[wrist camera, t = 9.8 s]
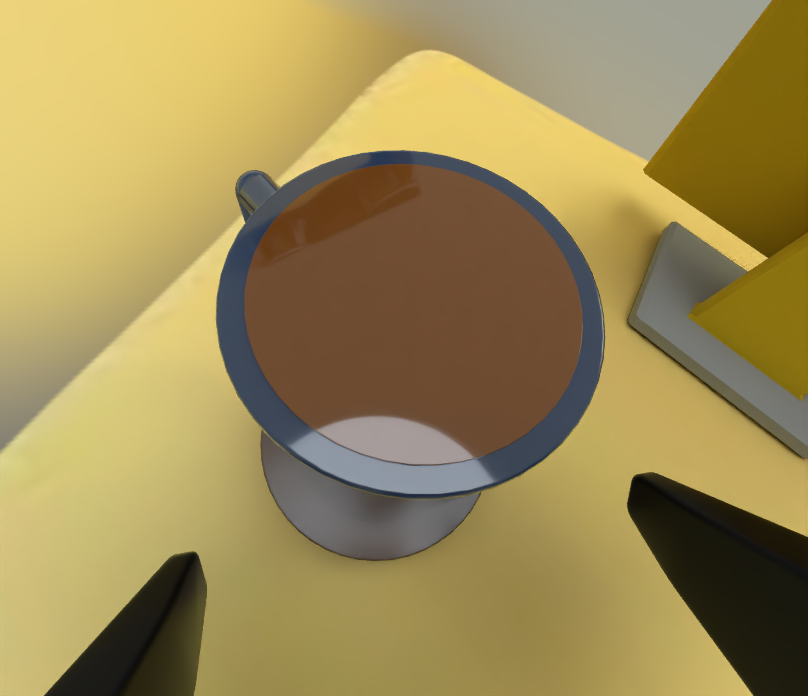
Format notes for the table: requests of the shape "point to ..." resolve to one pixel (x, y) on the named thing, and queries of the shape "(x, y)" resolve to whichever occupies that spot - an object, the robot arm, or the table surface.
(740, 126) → the toy computer monitor
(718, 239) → the table surface
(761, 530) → the robot arm
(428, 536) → the coaster
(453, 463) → the mug
